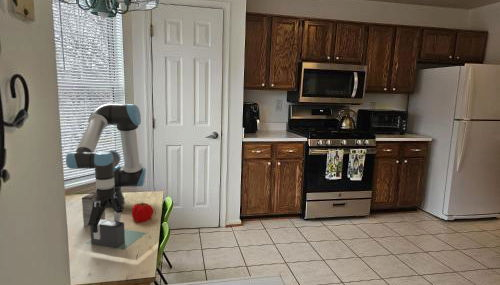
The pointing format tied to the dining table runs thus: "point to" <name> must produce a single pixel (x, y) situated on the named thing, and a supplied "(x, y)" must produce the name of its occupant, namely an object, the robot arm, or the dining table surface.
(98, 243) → the housing
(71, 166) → the robot arm
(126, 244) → the board
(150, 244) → the dining table surface
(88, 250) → the dining table surface
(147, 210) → the tomato
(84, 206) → the coffee box
